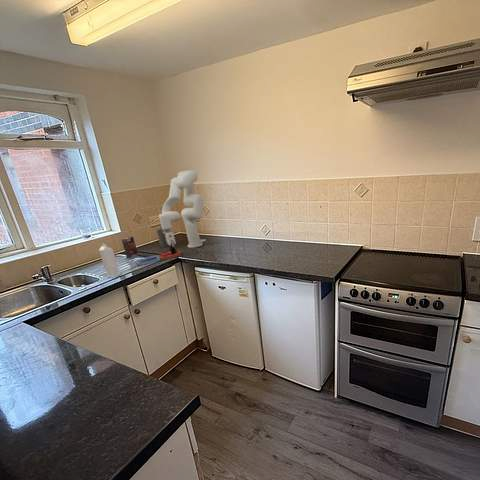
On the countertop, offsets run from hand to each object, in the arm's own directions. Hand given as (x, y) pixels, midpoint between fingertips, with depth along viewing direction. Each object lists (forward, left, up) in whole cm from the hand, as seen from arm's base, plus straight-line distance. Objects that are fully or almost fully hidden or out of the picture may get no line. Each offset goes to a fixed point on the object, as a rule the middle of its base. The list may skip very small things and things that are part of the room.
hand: (173, 253), depth 230 cm
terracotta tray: (+3, 0, -2) cm, 4 cm away
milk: (+44, +14, -2) cm, 46 cm away
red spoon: (+3, 0, 0) cm, 3 cm away
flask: (-3, -38, -2) cm, 38 cm away
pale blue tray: (+19, 0, -2) cm, 19 cm away
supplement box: (+27, -25, -2) cm, 37 cm away
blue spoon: (+19, 0, -1) cm, 19 cm away
